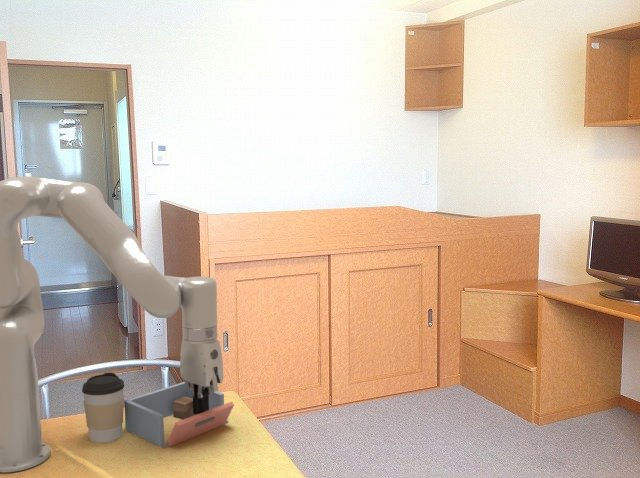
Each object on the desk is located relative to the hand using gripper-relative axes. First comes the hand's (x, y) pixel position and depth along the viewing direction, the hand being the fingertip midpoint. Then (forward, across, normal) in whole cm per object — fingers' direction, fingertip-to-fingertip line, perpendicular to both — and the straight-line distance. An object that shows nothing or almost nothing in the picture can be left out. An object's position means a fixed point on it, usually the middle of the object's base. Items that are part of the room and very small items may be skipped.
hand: (200, 412), depth 143 cm
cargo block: (+7, +13, -6) cm, 16 cm away
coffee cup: (+8, +17, +14) cm, 23 cm away
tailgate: (+6, +2, 0) cm, 6 cm away
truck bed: (+7, +10, 0) cm, 12 cm away
